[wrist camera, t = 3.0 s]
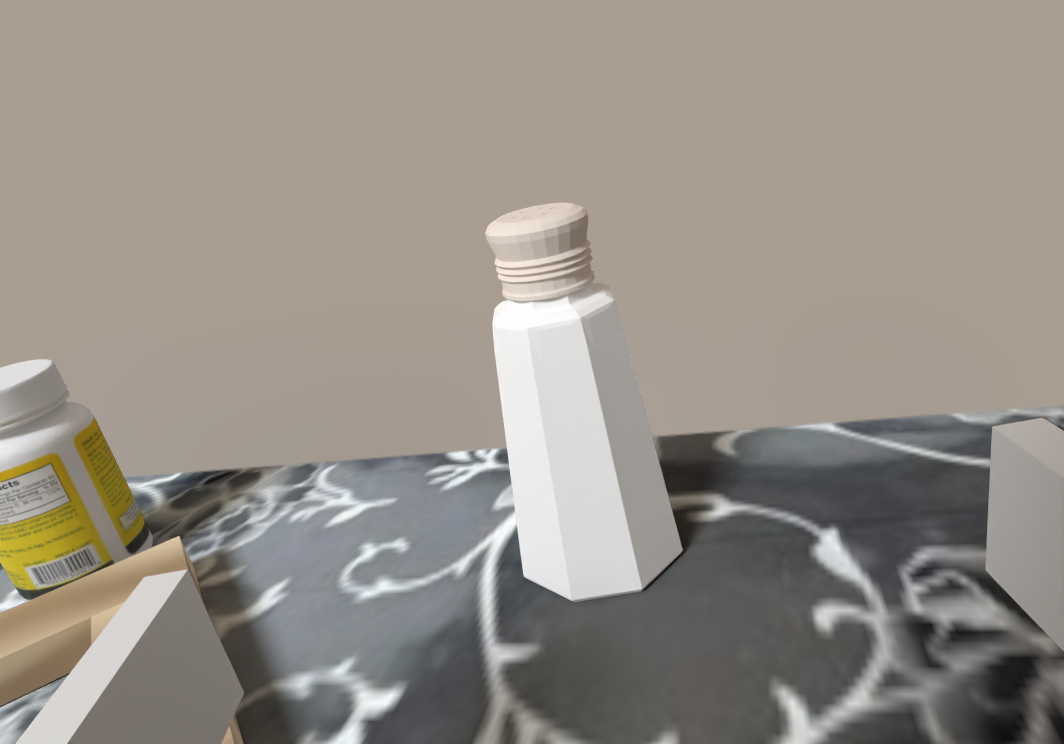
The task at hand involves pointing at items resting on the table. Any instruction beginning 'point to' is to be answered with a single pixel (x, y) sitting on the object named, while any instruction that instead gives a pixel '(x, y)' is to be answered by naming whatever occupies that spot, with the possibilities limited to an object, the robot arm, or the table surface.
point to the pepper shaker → (574, 416)
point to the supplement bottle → (58, 486)
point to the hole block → (78, 622)
